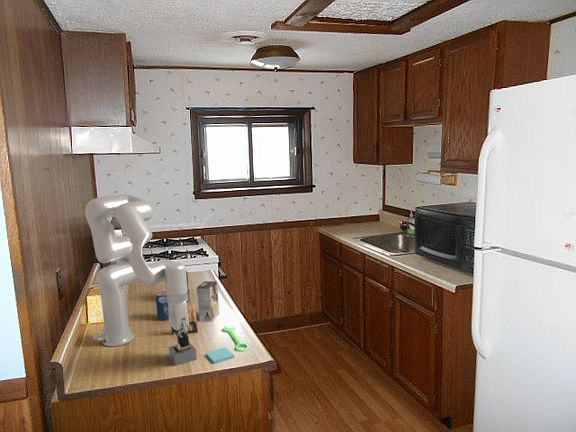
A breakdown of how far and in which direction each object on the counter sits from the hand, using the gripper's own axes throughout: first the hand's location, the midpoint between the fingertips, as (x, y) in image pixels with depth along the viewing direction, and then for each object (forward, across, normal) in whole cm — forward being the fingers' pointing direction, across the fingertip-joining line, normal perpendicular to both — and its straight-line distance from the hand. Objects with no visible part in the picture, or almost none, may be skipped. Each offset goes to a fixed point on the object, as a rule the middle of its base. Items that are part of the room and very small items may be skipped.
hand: (181, 342), depth 166 cm
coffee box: (+6, -32, +23) cm, 40 cm away
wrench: (+7, -4, +23) cm, 25 cm away
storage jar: (+6, -63, +19) cm, 66 cm away
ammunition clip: (+6, -22, +8) cm, 24 cm away
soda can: (+6, -44, +6) cm, 45 cm away
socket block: (+6, 0, 0) cm, 6 cm away
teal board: (+6, +7, +12) cm, 15 cm away
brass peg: (+6, 0, 0) cm, 6 cm away
